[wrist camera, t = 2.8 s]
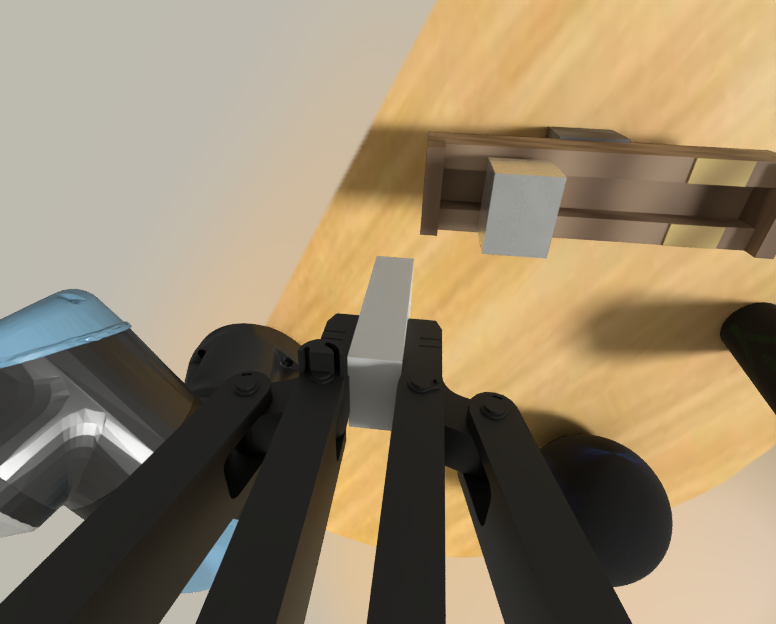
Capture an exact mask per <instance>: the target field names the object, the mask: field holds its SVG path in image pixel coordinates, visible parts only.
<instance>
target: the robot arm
mask: <svg viewBox="0 0 776 624" xmlns="http://www.w3.org/2000/svg"><path fill="white" fill-rule="evenodd" d="M413 266H414V259H409V258H396V257H383V256H377V257H376V261H375V264H374V268H373V271H372V274H371V278H370V281H369V285H368V288H367V292H366V295H365V298H364V302H363V305H362V309H361V312H360V315H350V314H338V313H337V314H335V315H334V316H333V317H332V318H331V319H329V320H328V321H327V324H326V327H325V329H324V332H323V334H322V337H321V339H316V340H312V341H308V342H307V343H305V344H303V345H302V346H301V345H299V344H298V343H297V342H296V341H294V340H293V339H292V338H290V337H288V336H287V335H285V334H283V333H281V332H279V331H277V330H274V329H272V328H269V327H265V326H261V325H256V324H246V323H242V324H232V325H227V326H223V327H221V328H219V329H217V330H215V331H213V332H211V333H210V334H209V335H208V336H207V337H205V339H204V340H203V341H202V342H201V344H200V345H199V346H198V348H197V349H196V350H195V352H194V353H193V355H192V357H191V359H190V362H189V366H188V370H187V374H186V378H185V383H184V382H182V381H181V380H180V379H179V378H178V377H177V376H176V375H175V374H174V373H173V372H172V371H171V370H170V369H169V368H168V367H167V366H166V365H165V364H164V363H163V362H162V361H161V360H160V359H159V358H158V356H156V354H155V353H154V352H153V351H152V350H151V349H150V348H149V347H148V346H147V345H146V344H145V343H144V342H143V341H142V340H141V339H140V338H139V337H138V336H137V335H136V334H135V333H134V332H133V331H132V330H131V329H130V327H132V326H131V325H130V324H129V323H128V322H123V321H122V320H121V319H120V318H119V317H118V316H117V315H116V314H115V313H114V312H112V311H111V310H110V309H109V308H108V307H107V306H106V305H105V304H104V303H102V302H101V301H100V300H99V299H98V298H97V297H96V296H94V295H93V294H91V293H89V292H87V291H84V290H79V289H68V290H62V291H60V292H57V293H55V294H53V295H50V296H48V297H46V298H44V299H42V300H40V301H38V302H36V303H34V304H31V305H29V306H27V307H25V308H23V309H21V310H19V311H17V312H15V313H13V314H11V315H9V316H7V317H5V318H3V319H0V537H6V536H11V535H16V534H21V533H26V532H32V531H34V530H36V529H37V528H38V527H40V526H41V525H42V524H43V523H44V522H45V521H46V520H47V519H48V518H49V517H50V516H51V515H52V514H53V513H54V512H55V511H56V510H57V509H59V507H61V506H63V505H64V506H66V507H67V508H69V509H70V510H71V511H73V512H74V513H76V514H77V515H78V516H80V517H81V518H83V519H84V520H85V521H84V522H82V524H81V525H79V526H78V527H77V528H76V530H75V531H73V532H72V533H71V534H70V535H69V536H68V538H66V539H65V540H64V542H62V543H61V544H60V545H59V546H58V547H57V548H56V549H55V550H54V551H53V552H52V553H51V554H50V555H49V556H48V557H47V558H46V559H45V560H44V561H43V562H42V563H41V564H40V565H39V566H38V567H37V568H36V569H35V570H34V571H33V572H32V573H31V574H30V575H29V576H28V577H27V578H26V579H25V580H24V581H23V582H22V583H21V584H20V585H19V586H18V587H17V588H16V589H15V590H14V591H13V592H12V593H11V594H10V595H9V596H8V597H7V598H6V599H5V600H4V601H3V602H2V603H0V624H159V623H160V622H161V620H162V619H163V617H164V616H165V614H166V613H167V612H168V610H169V609H170V607H171V606H172V605H173V603H174V602H175V600H176V599H177V598H178V596H179V595H180V593H192V592H199V591H204V590H207V589H210V590H209V593H208V595H207V597H206V600H205V602H204V605H203V607H202V610H201V612H200V614H199V617H198V619H197V621H196V624H304V621H305V616H306V612H307V608H308V604H309V599H310V595H311V591H312V586H313V582H314V577H315V573H316V569H317V565H318V560H319V556H320V552H321V547H322V543H323V539H324V534H325V530H326V526H327V521H328V517H329V513H330V508H331V504H332V500H333V495H334V491H335V487H336V482H337V478H338V474H339V469H340V465H341V461H342V456H343V452H344V448H345V443H346V426H347V422H348V418H349V426H350V427H360V428H370V429H380V430H389V431H391V439H390V446H389V454H388V462H387V470H386V478H385V485H384V493H383V501H382V509H381V516H380V524H379V532H378V540H377V548H376V556H375V563H374V572H373V579H372V586H371V595H370V603H369V610H368V618H367V624H446V621H445V619H446V613H445V612H446V610H445V466H447V467H450V468H452V469H455V470H457V472H458V477H459V480H460V483H461V487H462V490H463V493H464V496H465V499H466V502H467V506H468V509H469V512H470V515H471V518H472V521H473V525H474V528H475V531H476V534H477V537H478V540H479V544H480V547H481V550H482V553H483V556H484V559H485V562H486V565H487V569H488V572H489V575H490V578H491V581H492V585H493V588H494V591H495V594H496V597H497V600H498V604H499V607H500V610H501V613H502V616H503V619H504V622H505V624H632V622H631V621H630V619H629V617H628V615H627V613H626V611H625V609H624V607H623V605H622V604H621V602H620V600H619V598H618V596H617V594H616V592H615V590H614V589H613V587H612V585H611V583H610V581H609V579H608V577H607V575H606V573H605V572H604V570H603V568H602V566H601V564H600V562H599V560H598V558H597V557H596V555H595V553H594V551H593V549H592V547H591V545H590V543H589V541H588V540H587V538H586V536H585V534H584V532H583V530H582V528H581V526H580V525H579V523H578V521H577V519H576V517H575V515H574V513H573V511H572V510H571V508H570V506H569V504H568V502H567V500H566V498H565V496H564V494H563V493H562V491H561V489H560V487H559V485H558V483H557V481H556V479H555V478H554V476H553V474H552V472H551V470H550V468H549V466H548V464H547V463H546V461H545V459H544V457H543V455H542V453H541V451H540V449H539V447H538V446H537V444H536V442H535V440H534V438H533V436H532V434H531V432H530V431H529V429H528V427H527V425H526V423H525V421H524V419H523V417H522V416H521V414H520V412H519V410H518V408H517V407H516V405H515V404H514V403H513V402H512V401H511V400H510V399H508V398H507V397H505V396H504V395H500V394H497V393H493V392H484V393H479V394H477V395H475V396H474V397H472V398H471V399H468V398H465V397H462V396H460V395H458V394H455V393H454V392H452V391H451V390H450V389H449V388H448V387H447V386H446V385H445V383H444V382H443V378H442V329H441V328H440V326H439V325H438V323H437V322H436V321H432V320H420V319H410V307H411V293H412V280H413Z"/></svg>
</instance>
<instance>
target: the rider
mask: <svg viewBox="0 0 776 624" xmlns="http://www.w3.org/2000/svg"><path fill="white" fill-rule="evenodd" d="M566 179H567V177H566V176H565V175H564V174H563V173H562V172H561V171H560V170H559V168H558V167H557V166H556V165H555V164H554V163H553V162H552V161H547V160H529V159H512V158H495V157H488V163H487V169H486V176H485V182H484V189H483V195H482V202H481V209H480V215H479V222H478V228H477V232H478V237H479V241H480V246H481V251H482V254H493V255H507V256H521V257H535V258H547V255H548V251H549V247H550V243H551V239H552V235H553V231H554V227H555V223H556V219H557V215H558V211H559V207H560V203H561V199H562V195H563V191H564V187H565V183H566Z"/></svg>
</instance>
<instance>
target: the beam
mask: <svg viewBox="0 0 776 624" xmlns="http://www.w3.org/2000/svg"><path fill="white" fill-rule="evenodd" d="M630 141H631V140H630V139H628V138H626V137H624V136H623V135H621V134H619V133H617V132H615V131H613V130H602V129H582V128H563V127H548V129H547V134H546V138H532V137H513V136H495V135H476V134H458V133H439V132H428V142H427V153H426V166H425V178H424V191H423V204H422V217H421V229H420V235H434V236H437V230H452V231H466V232H477V228H478V222H479V215H480V209H481V202H482V195H483V189H484V182H485V176H486V169H487V163H488V157H495V158H512V159H529V160H547V161H552V162H553V163H554V164H555V165H556V166H557V167H558V168H559V170H560V171H561V172H562V173H563V174H564V175H565V176H566V177H567V179H566V183H565V187H564V191H563V195H562V199H561V203H560V207H559V211H558V215H557V219H556V223H555V227H554V231H553V235H552V237H554V238H569V239H583V240H598V241H613V242H627V243H642V244H656V245H663V246H676V247H691V248H706V249H729V250H744V251H746V252H747V253H749V254H750V255H752V256H753V257H754V258H766V259H774V257H775V255H776V153H775V152H772V151H769V150H753V149H735V148H716V147H698V146H679V145H661V144H643V143H630Z"/></svg>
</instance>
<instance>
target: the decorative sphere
mask: <svg viewBox="0 0 776 624" xmlns="http://www.w3.org/2000/svg"><path fill="white" fill-rule="evenodd" d="M540 451H541V453H542V455H543V457H544V459H545V461H546V463H547V464H548V466H549V468H550V470H551V472H552V474H553V476H554V478H555V479H556V481H557V483H558V485H559V487H560V489H561V491H562V493H563V494H564V496H565V498H566V500H567V502H568V504H569V506H570V508H571V510H572V511H573V513H574V515H575V517H576V519H577V521H578V523H579V525H580V526H581V528H582V530H583V532H584V534H585V536H586V538H587V540H588V541H589V543H590V545H591V547H592V549H593V551H594V553H595V555H596V557H597V558H598V560H599V562H600V564H601V566H602V568H603V570H604V572H605V573H606V575H607V577H608V579H609V581H610V583H611V585H612V587H618V586H624V585H628V584H631V583H634V582H636V581H638V580H641V579H642V578H644V577H646V576H647V575H648V574H650V573H651V572H652V571H653V570H654V569H655V568H656V567H657V566H658V565H659V563H660V562H661V561H662V559H663V558H664V556H665V554H666V551H667V550H668V547H669V544H670V540H671V534H672V512H671V507H670V503H669V500H668V497H667V494H666V492H665V490H664V488H663V485H662V483H661V482H660V480H659V479H658V477H657V476H656V474H655V473H654V471H653V470H652V469H651V468H650V467H649V465H648V464H647V463H646V462H645V461H644V460H643V459H641V458H640V457H639V456H638V455H637V454H635V453H634V452H633V451H631V450H630V449H628V448H627V447H625V446H623V445H621V444H619V443H617V442H615V441H613V440H610V439H607V438H604V437H600V436H594V435H571V436H566V437H562V438H560V439H557V440H554V441H552V442H550V443H549V444H547V445H546V446H544V447H543V448H541V449H540Z"/></svg>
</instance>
